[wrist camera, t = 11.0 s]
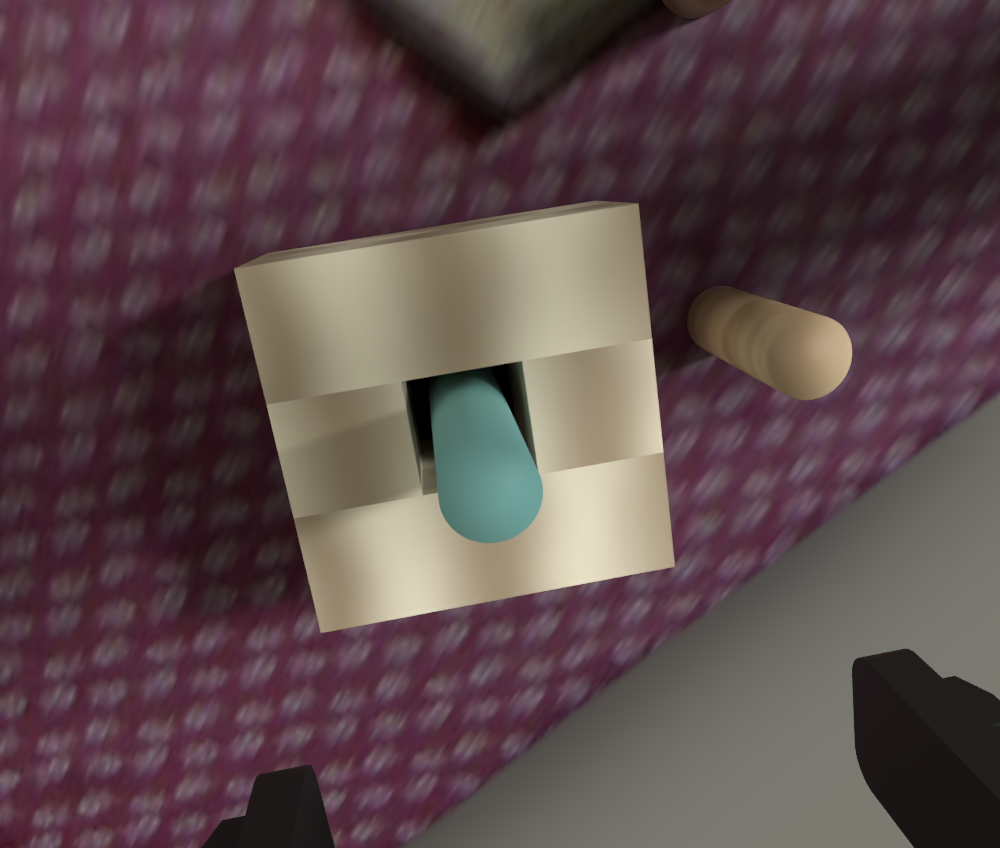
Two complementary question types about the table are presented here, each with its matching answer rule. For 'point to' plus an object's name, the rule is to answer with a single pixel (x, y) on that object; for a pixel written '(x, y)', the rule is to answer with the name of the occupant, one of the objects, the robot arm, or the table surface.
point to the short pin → (693, 7)
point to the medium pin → (771, 341)
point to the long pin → (481, 458)
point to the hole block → (453, 348)
